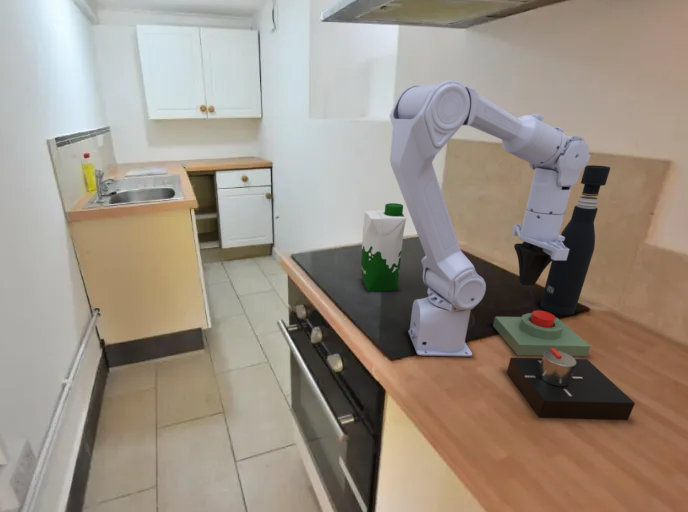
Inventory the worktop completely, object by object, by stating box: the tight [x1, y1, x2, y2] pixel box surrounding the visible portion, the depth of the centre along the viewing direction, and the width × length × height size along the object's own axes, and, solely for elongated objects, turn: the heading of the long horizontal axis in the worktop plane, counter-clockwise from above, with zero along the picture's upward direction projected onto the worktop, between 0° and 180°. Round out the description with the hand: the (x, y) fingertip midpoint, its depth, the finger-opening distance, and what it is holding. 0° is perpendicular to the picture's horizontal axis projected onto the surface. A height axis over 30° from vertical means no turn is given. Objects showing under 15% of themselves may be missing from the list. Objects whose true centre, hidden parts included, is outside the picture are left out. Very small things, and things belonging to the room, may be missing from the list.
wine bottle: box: [539, 164, 611, 316], centre depth 77 cm, size 6×6×30 cm
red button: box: [530, 310, 556, 328], centre depth 69 cm, size 4×4×2 cm
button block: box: [492, 312, 591, 358], centre depth 70 cm, size 12×10×4 cm
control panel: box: [506, 357, 636, 421], centre depth 56 cm, size 12×10×3 cm
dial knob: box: [538, 348, 576, 386], centre depth 55 cm, size 4×4×4 cm
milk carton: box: [360, 202, 407, 292], centre depth 90 cm, size 9×9×20 cm
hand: (527, 283), depth 69 cm, fingers closed
